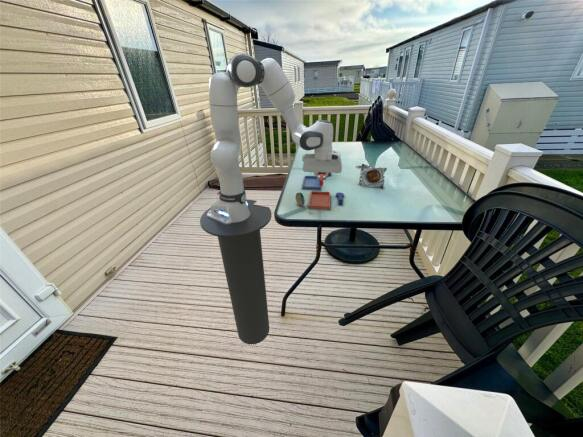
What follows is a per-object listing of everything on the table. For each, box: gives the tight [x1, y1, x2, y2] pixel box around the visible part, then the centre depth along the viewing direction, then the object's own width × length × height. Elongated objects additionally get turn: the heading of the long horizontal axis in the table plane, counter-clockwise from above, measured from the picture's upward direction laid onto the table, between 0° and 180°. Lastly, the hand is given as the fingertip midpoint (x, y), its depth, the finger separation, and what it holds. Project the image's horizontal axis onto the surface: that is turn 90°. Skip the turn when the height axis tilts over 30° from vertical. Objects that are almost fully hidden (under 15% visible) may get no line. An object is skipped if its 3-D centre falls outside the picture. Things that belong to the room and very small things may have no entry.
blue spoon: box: [335, 191, 345, 206], centre depth 139 cm, size 13×4×3 cm, turn 172°
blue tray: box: [301, 175, 321, 191], centre depth 159 cm, size 18×11×2 cm, turn 172°
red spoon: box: [318, 174, 325, 187], centre depth 132 cm, size 13×4×3 cm, turn 172°
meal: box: [358, 163, 388, 189], centre depth 152 cm, size 15×4×13 cm, turn 68°
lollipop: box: [295, 191, 312, 214], centre depth 131 cm, size 7×1×15 cm
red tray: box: [308, 190, 331, 211], centre depth 138 cm, size 18×11×2 cm, turn 172°
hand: (321, 179), depth 130 cm, fingers closed on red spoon, 2 cm apart
